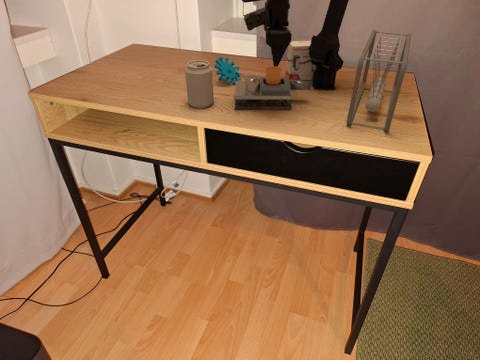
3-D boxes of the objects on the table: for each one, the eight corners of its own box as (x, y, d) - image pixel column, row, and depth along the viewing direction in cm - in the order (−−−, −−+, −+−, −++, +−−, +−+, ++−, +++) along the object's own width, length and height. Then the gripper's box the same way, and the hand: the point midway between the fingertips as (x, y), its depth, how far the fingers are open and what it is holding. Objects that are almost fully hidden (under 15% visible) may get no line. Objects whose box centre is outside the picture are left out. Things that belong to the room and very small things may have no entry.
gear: (226, 84, 111) (211, 56, 112) (215, 94, 116) (201, 67, 116) (248, 79, 119) (235, 53, 119) (238, 89, 123) (225, 63, 123)
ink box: (288, 82, 117) (291, 45, 110) (284, 77, 121) (287, 41, 114) (313, 81, 118) (318, 44, 111) (309, 75, 122) (313, 40, 115)
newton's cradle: (361, 86, 115) (373, 27, 104) (395, 91, 111) (412, 31, 101) (345, 127, 92) (358, 58, 82) (387, 135, 89) (407, 64, 79)
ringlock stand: (305, 93, 110) (308, 70, 106) (311, 110, 100) (314, 86, 96) (236, 92, 110) (235, 70, 106) (234, 109, 101) (234, 86, 97)
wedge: (278, 96, 106) (280, 66, 100) (279, 99, 104) (281, 68, 99) (265, 96, 106) (266, 66, 100) (265, 99, 104) (266, 68, 99)
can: (203, 111, 100) (200, 69, 93) (182, 105, 103) (178, 64, 96) (218, 102, 105) (217, 61, 98) (198, 96, 108) (195, 56, 101)
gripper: (246, -9, 97) (245, 50, 106) (245, 5, 82) (245, 72, 91) (287, -9, 96) (283, 50, 106) (294, 5, 81) (288, 72, 91)
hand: (274, 60), depth 98 cm, fingers open, 9 cm apart
